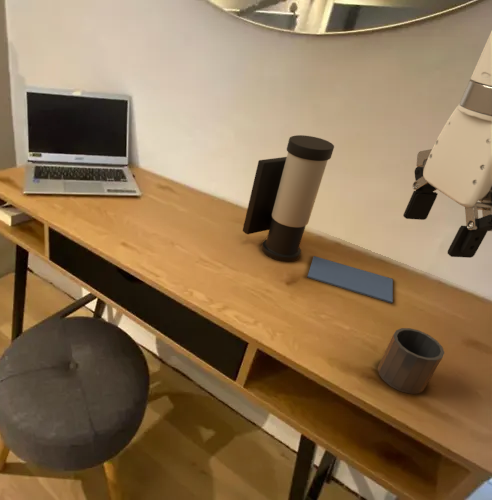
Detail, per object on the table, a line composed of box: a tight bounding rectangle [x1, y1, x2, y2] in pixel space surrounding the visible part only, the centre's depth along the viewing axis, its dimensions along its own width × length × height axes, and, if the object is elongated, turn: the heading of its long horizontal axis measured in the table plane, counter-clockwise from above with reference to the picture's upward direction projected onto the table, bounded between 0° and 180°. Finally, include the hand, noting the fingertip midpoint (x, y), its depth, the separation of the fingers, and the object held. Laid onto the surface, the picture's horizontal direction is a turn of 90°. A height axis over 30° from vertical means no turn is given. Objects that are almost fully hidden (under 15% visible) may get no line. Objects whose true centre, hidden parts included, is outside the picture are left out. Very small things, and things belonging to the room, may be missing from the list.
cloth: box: [307, 255, 394, 304], centre depth 96 cm, size 16×9×1 cm, turn 65°
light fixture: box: [242, 134, 335, 263], centre depth 98 cm, size 12×11×25 cm
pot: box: [377, 327, 445, 395], centre depth 72 cm, size 7×7×7 cm
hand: (435, 235), depth 62 cm, fingers open, 9 cm apart
